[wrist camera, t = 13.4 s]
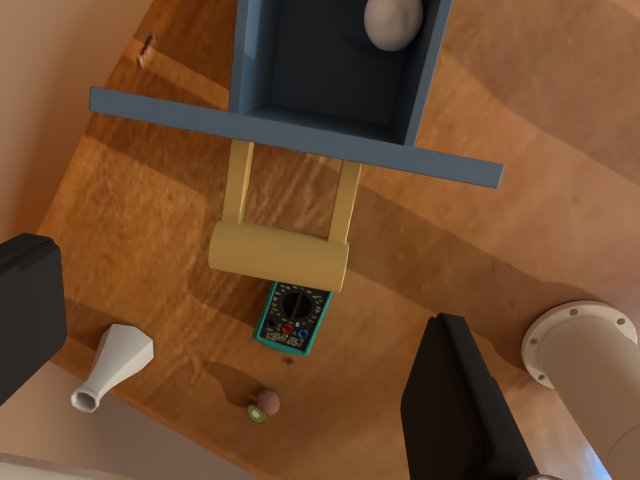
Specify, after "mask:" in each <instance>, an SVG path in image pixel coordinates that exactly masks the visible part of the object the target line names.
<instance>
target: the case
mask: <svg viewBox="0 0 640 480" xmlns="http://www.w3.org/2000/svg"><path fill="white" fill-rule="evenodd" d="M345 2H346V0H237V10H236V22H235V35H234V47H233V59H232V71H231V84H230V96H229V108H228V112H231V113H236V114H241V115H247V116H252V117H257V118H262V119H268V120H273V121H278V122H283V123H289V124H294V125H299V126H304V127H310V128H315V129H320V130H325V131H331V132H336V133H341V134H346V135H352V136H357V137H362V138H367V139H373V140H378V141H383V142H388V143H394V144H399V145H404V146H409V147H414V146H415V142H416V138H417V135H418V131H419V127H420V123H421V119H422V116H423V112H424V108H425V104H426V101H427V97H428V93H429V89H430V85H431V82H432V78H433V74H434V70H435V66H436V63H437V59H438V55H439V51H440V48H441V44H442V40H443V36H444V32H445V29H446V25H447V21H448V17H449V14H450V10H451V6H452V2H453V0H421V2H422V8H423V21H422V25H421V27H420V29H419V31H418V33H417V35H416V36H415V38H414V39H413V40H412V42H411V43H410V44H408V45H407V46H406V47H404V48H402V49H400V50H398V51H385V50H382V49H379V48H376V47H373V46H371V45H367V44H363V43H359V42H356V41H352V40H349V39H348V38H346V37H345V36H343V35H342V34H341V33H340V31H339V28H338V25H337V22H336V20H337V15H338V10H339V8H340V7H341V6H342V5H343V4H344V3H345Z"/></svg>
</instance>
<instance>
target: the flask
mask: <svg viewBox="0 0 640 480" xmlns="http://www.w3.org/2000/svg"><path fill="white" fill-rule="evenodd" d="M153 358H154V355H153V340H152V339H151V338H149V337H148V336H147V335H145V334H144V333H143V332H141V331H140V330H139V329H137V328H136V327H134V326H127V325H120V324H112V325H111V326H110V327H109V329H108V330H107V331H106V332H105V333H104V334H103V335H102V337H101V340H100V343H99V346H98V350H97V353H96V356H95V359H94V362H93V365H92V368H91V371H90V373H89V375H88V377H87V378H86V380H85V382H84V384H83V385H82V386H81V387H78V388H77V389H76V390H75V391H74V392H73V393H72V394H71V395H70V401H71V405H72V406H74V407H75V408H77V409H79V410H80V411H84V412H90V413H92V412H93V411H94V410H95V409H96V408H97V406H99V400H100V399H101V397H102V396H103V395H104V394H105V393H106V392H107V391H108V390H109V389H110V388H112V387H114V386H115V385H117V384H118V383H120V382H121V381H123V380H124V379H126V378H128V377H130V376H131V375H133V374H135V373H137V372H138V371H140V370H141V369H143V368H144V367H145V366H146V365H147V364H148V363H149V362H150V361H151V360H152V359H153Z"/></svg>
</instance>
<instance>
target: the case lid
mask: <svg viewBox="0 0 640 480" xmlns="http://www.w3.org/2000/svg"><path fill="white" fill-rule="evenodd" d="M89 103H90V104H89V110H90V111H91V112H95V113H101V114H106V115H111V116H116V117H122V118H127V119H132V120H137V121H143V122H148V123H153V124H158V125H164V126H169V127H174V128H179V129H185V130H190V131H195V132H200V133H206V134H211V135H216V136H221V137H227V138H232V140H231V148H230V156H229V163H228V171H227V178H226V186H225V194H224V201H223V209H222V216H221V218H219V219H218V220H217V222H216V224H215V226H214V228H213V231H212V234H211V238H210V242H209V248H208V265H209V267H210V268H211V269H215V270H220V271H226V272H231V273H236V274H241V275H247V276H252V277H257V278H262V279H268V280H273V281H278V282H283V283H289V284H294V285H299V286H305V287H310V288H315V289H320V290H326V291H331V292H336V293H339V292H340V291H341V288H342V284H343V280H344V276H345V271H346V265H347V259H348V252H349V242H348V241H346V239H347V234H348V230H349V225H350V220H351V215H352V210H353V205H354V200H355V196H356V191H357V186H358V181H359V176H360V171H361V166H362V163H363V164H369V165H374V166H379V167H384V168H390V169H395V170H400V171H405V172H411V173H416V174H421V175H426V176H432V177H437V178H442V179H447V180H453V181H458V182H463V183H468V184H474V185H479V186H484V187H489V188H495V189H497V188H498V187H499V184H500V181H501V177H502V174H503V170H504V165H503V164H499V163H493V162H488V161H483V160H478V159H472V158H467V157H462V156H457V155H451V154H446V153H441V152H436V151H430V150H425V149H420V148H415V147H409V146H404V145H399V144H394V143H388V142H383V141H378V140H373V139H367V138H362V137H357V136H352V135H346V134H341V133H336V132H331V131H325V130H320V129H315V128H310V127H304V126H299V125H294V124H289V123H283V122H278V121H273V120H268V119H262V118H257V117H252V116H247V115H241V114H236V113H231V112H226V111H220V110H215V109H210V108H204V107H199V106H194V105H189V104H183V103H178V102H173V101H168V100H162V99H157V98H152V97H147V96H141V95H136V94H131V93H126V92H120V91H115V90H110V89H105V88H99V87H94V86H92V87H91V88H90V102H89ZM254 143H258V144H263V145H269V146H274V147H279V148H284V149H290V150H295V151H300V152H306V153H311V154H316V155H321V156H327V157H332V158H337V159H342V164H341V169H340V175H339V180H338V185H337V190H336V195H335V200H334V205H333V211H332V216H331V221H330V226H329V231H328V236H327V237H322V236H316V235H311V234H306V233H301V232H295V231H290V230H285V229H280V228H274V227H269V226H264V225H259V224H253V223H248V222H243V218H244V211H245V204H246V197H247V190H248V183H249V177H250V170H251V163H252V156H253V149H254Z"/></svg>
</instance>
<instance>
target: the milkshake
mask: <svg viewBox="0 0 640 480" xmlns="http://www.w3.org/2000/svg"><path fill="white" fill-rule="evenodd" d="M422 21H423V8H422V2H421V0H346V2H345V3H344V4H343V5H342V6H341V7H340V8H339V10H338V15H337V20H336V22H337V25H338V28H339V31H340V33H341V34H342V35H343V36H345V37H346V38H348V39H349V40H352V41H356V42H359V43H363V44H367V45H371V46H373V47H376V48H379V49H382V50H385V51H398V50H400V49H402V48H404V47H406V46H407V45H408V44H410V43H411V42H412V40H413V39H414V38H415V36H416V35H417V33H418V31H419V29H420V27H421V25H422Z"/></svg>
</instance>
